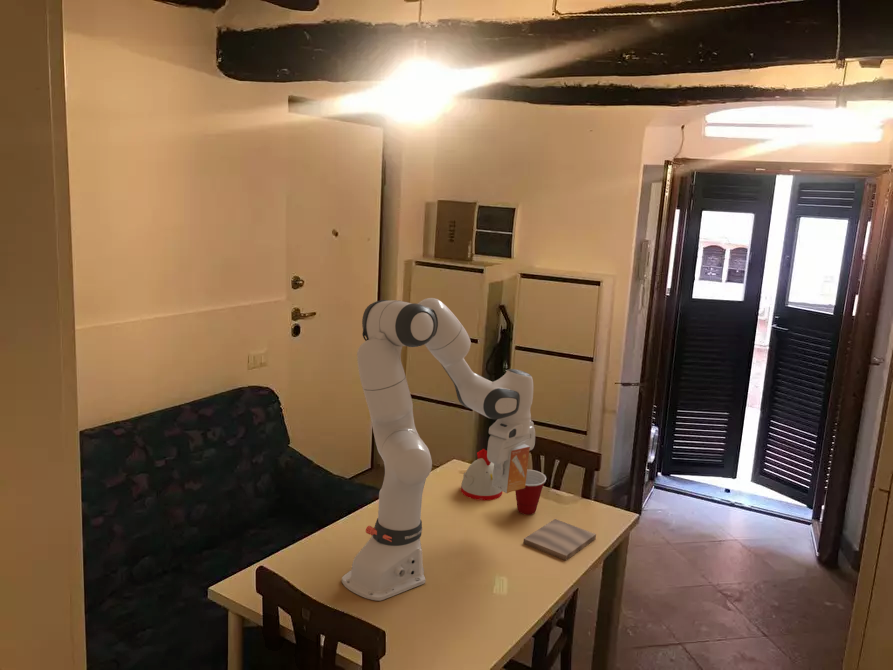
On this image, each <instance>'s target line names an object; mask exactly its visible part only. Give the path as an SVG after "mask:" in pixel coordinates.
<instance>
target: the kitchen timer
mask: <svg viewBox="0 0 893 670" xmlns="http://www.w3.org/2000/svg"><path fill="white" fill-rule="evenodd" d="M476 457H477V459H475V460H473V462H472V463H471V464H470V465H469V466H468V467H467V468H466V471H465V472H463V476H462V477H463V478H462V480H461V485H460V492H461V493H462V495H464V497H467V498H469V499H472V500H476V501H493V500H496V499H499V498H500V497H502V495H503V491H501V490H499V489H497V488H494V487H493V486H492V479H493V470H494V463H492V462H490V461H489V460H488V458H487V450H486V449H485V448H482V449H481V450H479V451H478V452H476Z"/></svg>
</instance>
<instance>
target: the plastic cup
mask: <svg viewBox="0 0 893 670" xmlns="http://www.w3.org/2000/svg"><path fill="white" fill-rule="evenodd" d="M546 480H547V476H546V474H544V473H542V472H540V471H538V470H534V469H527V476H526V485H525V488H523V489H519V490H516V491H514V492H515V499H516V500H515V501H516V508H517V512H519V514H522V515H528V516H529V515H530V516H531V515H534V514H535V513H536V512H537V508H538V504H539V503H540V502H539V501H540V498H541V495H542V491H543V487H544V485H545V483H546Z"/></svg>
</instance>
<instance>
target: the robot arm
mask: <svg viewBox="0 0 893 670" xmlns="http://www.w3.org/2000/svg"><path fill="white" fill-rule="evenodd" d="M361 325H362V338H363V340H364V342H362V343H361V344H360V345H359V346H358V348H357V351H356V356H357V358H356V359H357V360H356V361H357V368H358V369H357V370H358V375H359V379H360V384H361V387H362V391H363V394H364V399H365V402H366V406H367V410H368V412H369V416H370V417H369V418H370V421H371V426H372V432H373V436H374V442H375V445H376V449H377V452H378V454H379V456H380V457H381V459H382V460H383V464H384V465H383V466H384V477H383V482H382V486H381V488H380V490H379V492H378V511H377V513H378V515H377V518H376V521H375V523H374V526H371V525H368V526H366V528H365V533H366V534H367V535H370V536H371V537H370V538H369V539H368V541H367V542H366V543H365V545H364V546H363V547H362V548H361V549H360V550H359V552H358V553H357V554H356V555H355V557H354V558H353V560H352V565H351V570H349V571H348V572H347V573H345V574H344V575H343V576H342V577H341V583H342V584H343V586H344V587H345V588H346V589H347V590H349V591H350V592H352V593H354V594H356V595H357V596H360V597H362V598H365V599H368V600H372V601H377V602H378V601H379V602H381V601H384V600H386V599H389V598H391V597H394V596H396V595H399V594H401V593H404V592H406V591H408V590H409V591H410V590H412V589H414V588H416V587H419V586H422V585H424V584H426V577H425V575H424V572H425V569H424V562H423V549H422V544H421V536H422V533H423V532H422V531H423V524H422V523H423V521H422V519H421V517H422V503H423V501H422V500H423V493H424V488H425V483H426V481H427V478H428V477H429V475H430V473H431V471H432V469H433V461H432V455H431V453H430V449H429V448H428V445H426V444H425V442H424V440H423V439H422V437H420V434H419V433H418V431H417V428H416V424H415V418H414V417H415V416H414V410H413V409H414V407H413V406H414V402H413V399H412V396H411V391H410V388H409V387H410V386H409V384H408V380H407V376H406V373H405V369H404V366H403V363H402V358H401V357H402V349H403V347H408V348H417V347H418V348H419V347H422V346H425V348H426V349H427V350H428V352H429V353H430V354H431V355H432V356H433V357H434V359H436V361H438V362H439V364H440V365H441V367H442V369H443V370H444V371H445V373H446V374H447V375H448V377H449V379H450V380H451V381H452V383H453V386H454V388H455V393H456V397H457V400H458V402H459V403H460V405H462V406H463V407H465V408H467V409H470V410H473V411H474V412H476V413H478V414H480V415H482V416H484V417H486V418H488V419H491V420H495V422H493V423H492V424H491V425H490V426H489V428H488V434H489V435H490V436H489V437H488V441H487V458H488V460H489V461H490V462H492V463H495V465H496V468H497V475H500V476H501V475H503V474H504V472H505V469H504V468H503V464H504V461H506V460H508V459H509V451H510V450H511V449H513V448H516V447H518V446H521V445H523V444H525V445H528V446H530V450H529V452H530V451H532V450H533V449H534V448H535V444H536V429H535V425H534V424H535V423H534V422H533V420H532V419H531V418H532V415H531V407H532V405H533V400H534V399H533V398H534V380H533V376H532V375H531V374H530V373H528V372H526V371H524V370H520V369H514V368H509V369H507V370H506V371H505V373H504V375H502V376H501V377H500V378H498V379H496V380H494V381H491V380H489V379H487V378H485V377H484V376H482V375H480V374H478V373H475V372H474V371H473V370H472V368H471V367H470V365H469V364H468V363H467V361H466V359H465V358H466V357H467V355H468V353H469V352H470V349H471V347H472V346H471V345H472V342H471V338H470V336H469V333H468V332H467V330H466V328H465V327H464V326H463V324H462V323H461V322H460V320H459V319H458V317H457V316H456V315H455V314H454V312H452V310H450V308H449V307H448V306H447V305H446V304H445V303H444V302H442V301H441V300H439V298H434V297H428V298H427V297H426V298H424V299H422V300H420V301H419V302H418V303H413V302H412V303H411V302H408V301H403V300H397V299H396V300H386V299H382V300H378V301H377V300H376V301H373V302H372V303H369V305H368V306H366V308H365V309H364V311H363V316H362V321H361Z"/></svg>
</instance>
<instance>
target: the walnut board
mask: <svg viewBox="0 0 893 670" xmlns="http://www.w3.org/2000/svg"><path fill="white" fill-rule="evenodd" d="M596 538H597V533H594V532H592V531H588V530H586V529H583V528H581V527H578V526H575V525H572V524H570V523H566V522H564V521H561V520H559V519H557V518H554V519H553V520H551V521H549V522H548V523H546V524H545V525H543V526H542V527H540V528H538V529H536V530H535V531H534V532H532V533H530V534H529V535H527V536H525V537H524V538H523V544H524V545H527V546H529V547H532V548H533V549H536V550H538V551H541V552H544V553H546V554H548V555H551V556H553V557H556V558H558V559H561V560H563V561H567V560H569V559H570V558H571V557H573V556H574V555H576V554H577V553H579V552H580V551H582V550H583V549H584V548H585V547H587V546H588V545H590V544H591V543H592V542H594V541H595V540H596Z"/></svg>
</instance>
